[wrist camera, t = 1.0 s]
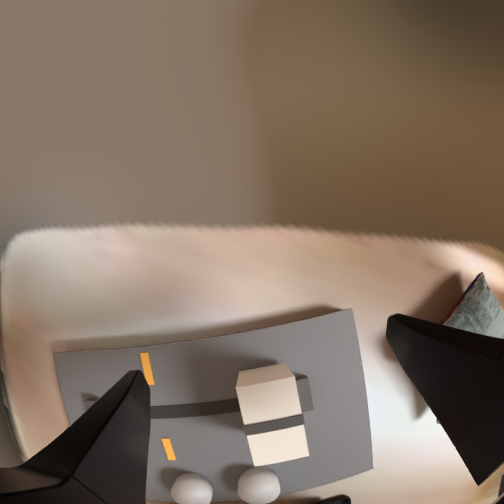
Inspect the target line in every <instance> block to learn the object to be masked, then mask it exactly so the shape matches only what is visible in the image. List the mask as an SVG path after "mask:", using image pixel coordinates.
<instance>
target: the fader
mask: <svg viewBox="0 0 504 504" xmlns="http://www.w3.org/2000/svg"><path fill="white" fill-rule="evenodd" d="M236 392H237V396H238V401H239V405H240V409H241V414H242V418H243V422H244V425H243V428H244V432H245V436H247V439H248V443H249V447H250V451H251V455H252V459H253V463H254V467H256V466H262V465H268V464H274V463H279V462H284V461H289V460H294V459H298V458H302V457H306V456H309V451H308V446H307V440H306V434H305V429H304V424H305V422H304V416H303V414H302V412H301V407H300V401H299V396H298V391H297V385H296V380H295V376H294V374H293V373H292V372H291V371H290V369H289V368H288V367H287V365H286V364H285V363H281V364H276V365H271V366H266V367H261V368H256V369H250V370H245V371H239V375H238V380H237V384H236Z"/></svg>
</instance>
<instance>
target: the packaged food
mask: <svg viewBox="0 0 504 504" xmlns="http://www.w3.org/2000/svg"><path fill="white" fill-rule="evenodd" d="M439 324H442V325H446V326H450V327H454V328H458V329H462V330H466V331H470V332H474V333H478V334H482V335H487V336H492V337H497V338H503V339H504V311H503V309H502V308H501V306H500V304H499V303H498V301H497V299H496V298H495V296H494V294H493V293H492V291H491V290H490V288H489V287H488V285H487V282H486V280H485V277H484V274H483V272H481V273H480V274H478V275H477V276H476V278H475V279H474V280H473V282H472V283H471V284H470V285H469V287H468V288H467V289H466V291H465V292H464V293H463V295H462V296H461V297H460V299H459V300H458V302H457V304H456V305H454V307H453V308H452V310H451V311H450V313H449V315H448V316H447V317H445V318H444V319H443V320H442V321H441V322H440V323H439ZM436 421H437V423H438V424H440V422H439V421H438V419H437V420H436Z"/></svg>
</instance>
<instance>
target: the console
mask: <svg viewBox="0 0 504 504" xmlns="http://www.w3.org/2000/svg"><path fill="white" fill-rule="evenodd" d="M53 355H54V361H55V366H56V371H57V376H58V381H59V385H60V389H61V393H62V397H63V401H64V405H65V408H66V412H67V415H68V419H69V422H70V425H72V424H73V423H74V422H75V421H76V420H77V419H78V418H79V417H80V416H81V415H82V414H83V413H84V412H85V411H87V410H88V409H89V408H90V407H91V406H92V405H93V404H94V403H95V402H96V401H97V400H98V399H99V398H100V397H101V396H103V395H104V394H105V393H106V392H107V391H108V390H109V389H110V388H111V387H112V386H113V385H114V384H115V383H116V382H117V381H119V380H120V379H121V378H122V377H123V376H124V375H125V374H126V373H127V372H128V371H129V370H137V369H139V370H141V371H142V372H143V374H144V377H145V379H146V381H147V383H148V385H149V387H150V413H151V429H150V440H149V451H148V464H147V480H146V501H157V502H173V503H178V504H210V503H213V502H230V501H241V500H243V501H245V502H247V503H249V504H267V503H270V502H272V501H274V500H275V499H276V498H277V497H278V496H279V495H283V494H288V493H293V492H298V491H302V490H306V489H310V488H314V487H318V486H322V485H325V484H329V483H332V482H336V481H339V480H342V479H345V478H348V477H351V476H354V475H357V474H360V473H362V472H365V471H368V470H370V469H373V457H372V443H371V431H370V420H369V411H368V402H367V394H366V387H365V380H364V373H363V366H362V360H361V354H360V348H359V342H358V337H357V331H356V326H355V321H354V316H353V311H352V308H351V309H343V310H339V311H336V312H332V313H328V314H324V315H319V316H315V317H311V318H307V319H302V320H298V321H293V322H289V323H284V324H280V325H275V326H270V327H265V328H260V329H255V330H249V331H244V332H238V333H233V334H227V335H221V336H215V337H209V338H202V339H195V340H188V341H181V342H174V343H166V344H157V345H148V346H139V347H129V348H117V349H104V350H89V351H68V352H57V353H53ZM281 363H285V364H286V365H287V367H288V368H289V369H290V371H291V372H292V373H293V374H294V376H295V380H296V385H297V391H298V396H299V401H300V407H301V412H302V414H303V416H304V422H305V424H304V429H305V434H306V440H307V446H308V451H309V456H306V457H302V458H298V459H294V460H289V461H284V462H279V463H274V464H268V465H262V466H256V467H254V463H253V459H252V455H251V451H250V447H249V443H248V439H247V436H245V432H244V428H243V425H244V422H243V418H242V414H241V409H240V405H239V401H238V396H237V392H236V384H237V380H238V375H239V371H245V370H250V369H256V368H261V367H266V366H271V365H276V364H281Z"/></svg>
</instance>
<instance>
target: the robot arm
mask: <svg viewBox="0 0 504 504" xmlns="http://www.w3.org/2000/svg"><path fill="white" fill-rule="evenodd" d="M386 338H387V341H388V343H389V344H390V346H391V348H392V350H393V351H394V353H395V355H396V357H397V359H398V360H399V362H400V364H401V366H402V368H403V369H404V371H405V372H406V374H407V375H408V377H409V378H410V379H411V381H412V382H413V384H414V385H415V387H416V388H417V390H418V391H419V392H420V394H421V395H422V397H423V398H424V400H425V401H426V403H427V404H428V406H429V407H430V409H431V410H432V412H433V413H434V415H435V416H436V418H437V419H438V421H439V422H440V424H441V426H442V427H443V429H444V430H445V432H446V433H447V435H448V437H449V438H450V440H451V441H452V443H453V445H454V446H455V448H456V450H457V451H458V453H459V455H460V456H461V458H462V460H463V461H464V463H465V465H466V466H467V468H468V470H469V472H470V473H471V475H472V477H473V479H474V480H475V482H476V484H477V485H478V486H479V485H480V484H482V483H483V482H484V481H485V480H486V479H487V478H489V477H490V476H491V475H492V474H493V473H494V472H495V471H496V470H497V469H498V468H499V467H500V466H502V465H503V464H504V339H503V338H497V337H492V336H487V335H482V334H478V333H474V332H470V331H466V330H462V329H458V328H454V327H450V326H446V325H442V324H438V323H434V322H430V321H426V320H422V319H418V318H414V317H411V316H407V315H403V314H399V313H397V314H394V315H391V316H389V317H388V320H387V329H386ZM150 429H151V413H150V387H149V385H148V383H147V381H146V379H145V377H144V374H143V372H142V371H141V370H139V369H137V370H129V371H128V372H127V373H126V374H125V375H124V376H123V377H122V378H121V379H120V380H119V381H117V382H116V383H115V384H114V385H113V386H112V387H111V388H110V389H109V390H108V391H107V392H106V393H105V394H104V395H103V396H101V397H100V398H99V399H98V400H97V401H96V402H95V403H94V404H93V405H92V406H91V407H90V408H89V409H88V410H87V411H85V412H84V413H83V414H82V415H81V416H80V417H79V418H78V419H77V420H76V421H75V422H74V423H73V424H72V425H71V426H69V427H68V428H67V429H66V430H65V431H64V432H63V433H62V434H61V435H59V436H58V437H57V438H56V439H55V440H54V441H52V442H51V443H50V444H49V445H47V446H46V447H45V448H44V449H42V450H41V451H40V452H38V453H37V454H36V455H34V456H33V457H32V458H30V459H29V460H28V461H26V462H25V463H23V464H22V465H20V466H17V467H12V468H0V504H146V480H147V464H148V451H149V440H150ZM344 500H346V501H344ZM318 504H351V499H350V497H349V496H343V497H339V498H336V499H333V500H329V501H326V502H322V503H318ZM492 504H504V475H503V476H502V479H501V485H500V490H499V495H498V498H497V499H496V500H495V501H494V502H493V503H492Z"/></svg>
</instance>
